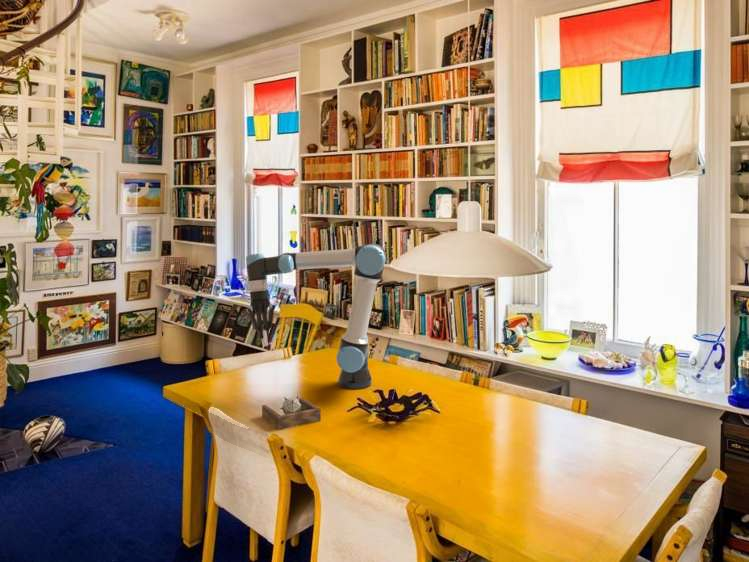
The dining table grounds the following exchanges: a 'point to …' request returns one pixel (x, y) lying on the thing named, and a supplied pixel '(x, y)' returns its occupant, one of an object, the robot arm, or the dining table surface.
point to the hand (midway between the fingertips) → (265, 345)
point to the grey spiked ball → (291, 406)
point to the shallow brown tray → (292, 415)
